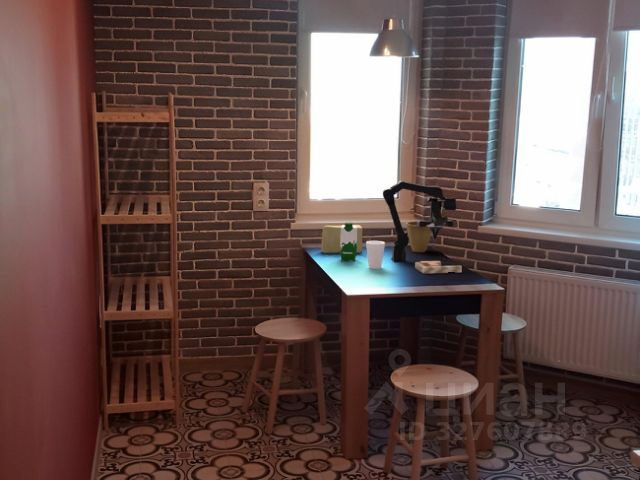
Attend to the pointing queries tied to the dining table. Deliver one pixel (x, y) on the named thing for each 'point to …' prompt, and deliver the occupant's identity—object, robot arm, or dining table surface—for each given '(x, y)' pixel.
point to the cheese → (337, 239)
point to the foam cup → (375, 253)
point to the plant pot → (418, 236)
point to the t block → (431, 263)
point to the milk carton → (348, 242)
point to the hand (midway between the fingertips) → (434, 239)
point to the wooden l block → (437, 268)
